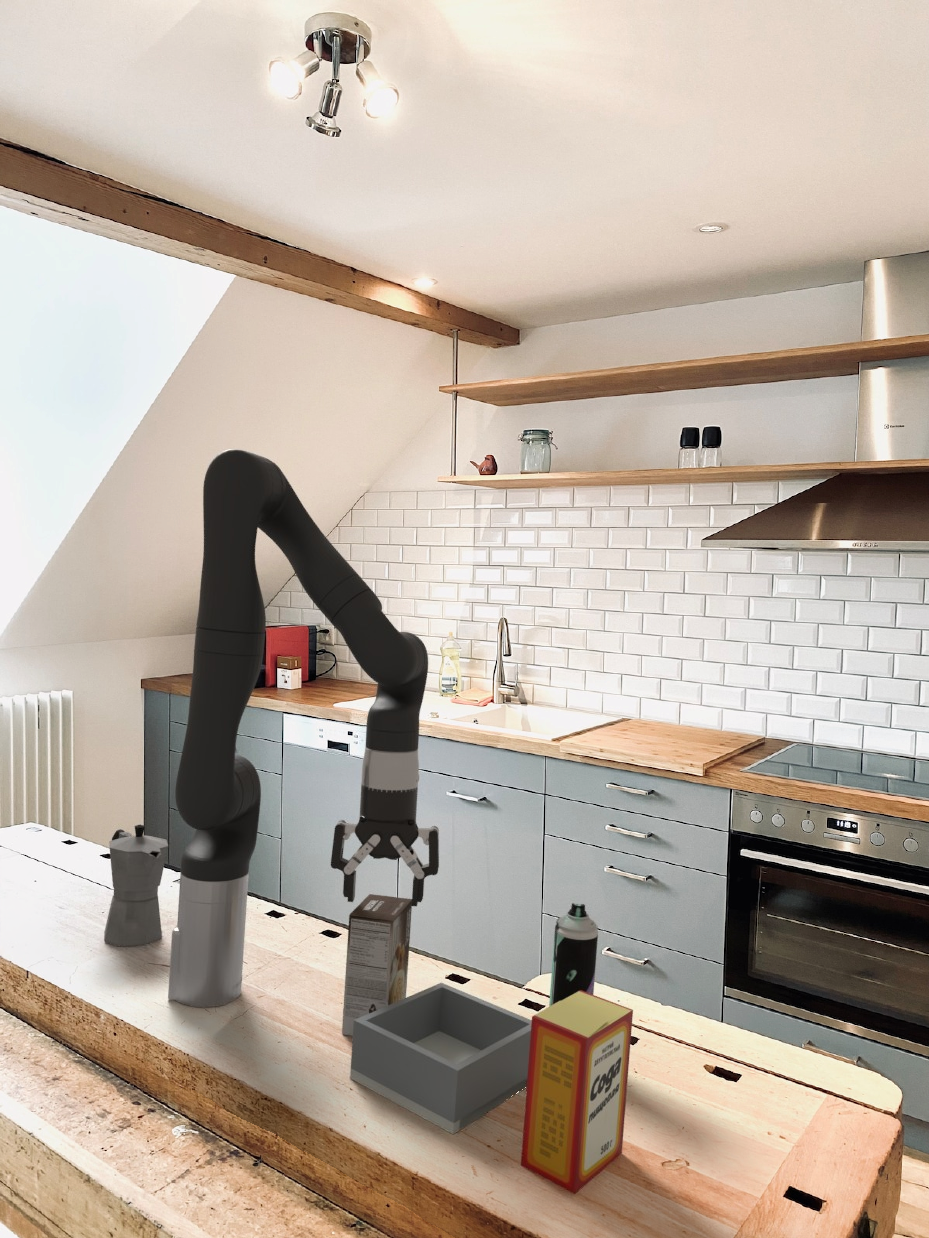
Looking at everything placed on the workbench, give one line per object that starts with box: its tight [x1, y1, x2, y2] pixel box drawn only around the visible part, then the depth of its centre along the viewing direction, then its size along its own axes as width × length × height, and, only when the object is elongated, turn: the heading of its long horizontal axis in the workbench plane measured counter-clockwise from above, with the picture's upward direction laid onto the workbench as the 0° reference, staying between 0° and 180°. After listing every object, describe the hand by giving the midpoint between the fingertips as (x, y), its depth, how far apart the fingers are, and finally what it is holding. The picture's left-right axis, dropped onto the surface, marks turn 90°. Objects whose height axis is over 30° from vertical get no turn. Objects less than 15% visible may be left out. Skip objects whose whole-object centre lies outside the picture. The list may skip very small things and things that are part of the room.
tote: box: [349, 982, 532, 1135], centre depth 113 cm, size 16×16×7 cm
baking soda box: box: [520, 990, 634, 1195], centre depth 99 cm, size 10×6×16 cm
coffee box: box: [341, 893, 413, 1037], centre depth 126 cm, size 9×6×16 cm
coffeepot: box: [104, 824, 169, 948], centre depth 151 cm, size 15×9×18 cm, turn 44°
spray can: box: [548, 902, 599, 1007], centre depth 121 cm, size 6×6×20 cm
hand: (383, 902), depth 126 cm, fingers open, 8 cm apart
